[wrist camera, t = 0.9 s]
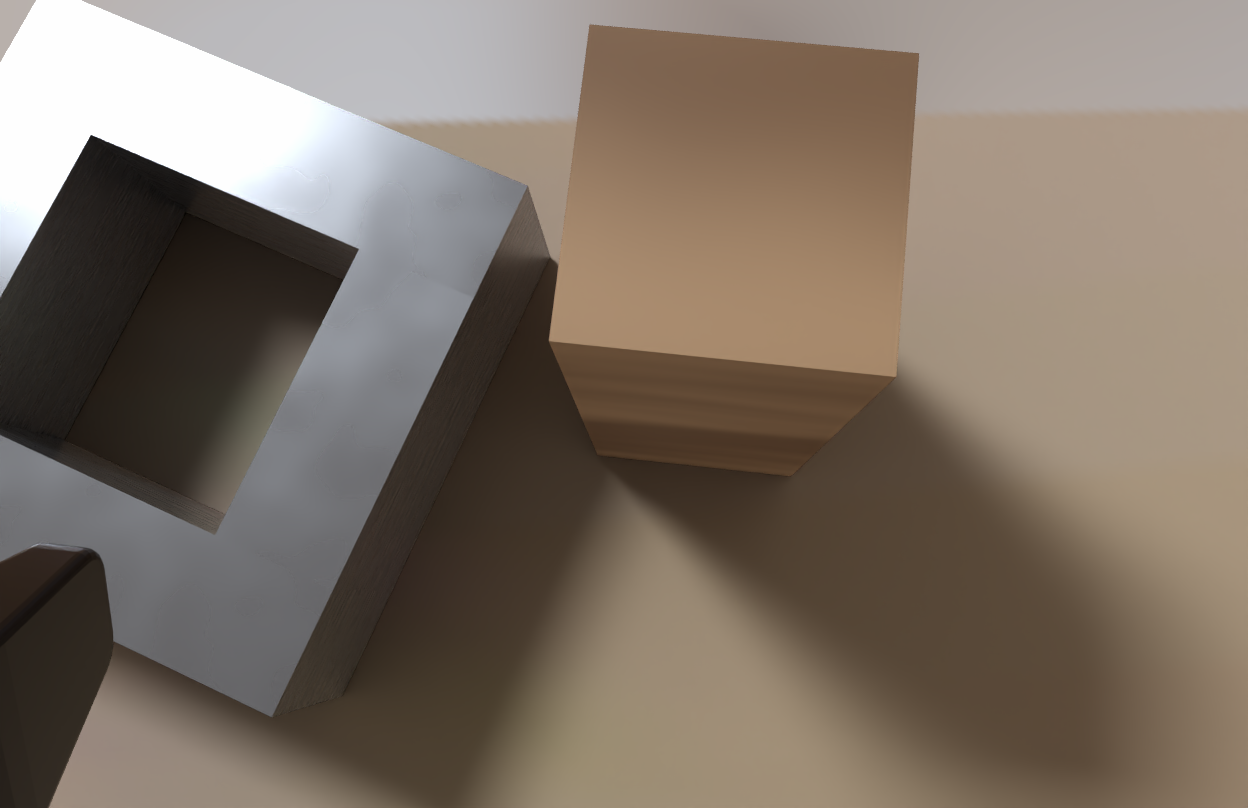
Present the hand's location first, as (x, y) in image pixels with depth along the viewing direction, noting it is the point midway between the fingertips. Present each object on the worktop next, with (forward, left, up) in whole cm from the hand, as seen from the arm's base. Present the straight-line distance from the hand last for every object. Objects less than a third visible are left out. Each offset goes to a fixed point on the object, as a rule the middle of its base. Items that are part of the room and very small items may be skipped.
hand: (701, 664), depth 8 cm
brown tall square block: (+5, +1, -14) cm, 15 cm away
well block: (+1, +10, -14) cm, 17 cm away
